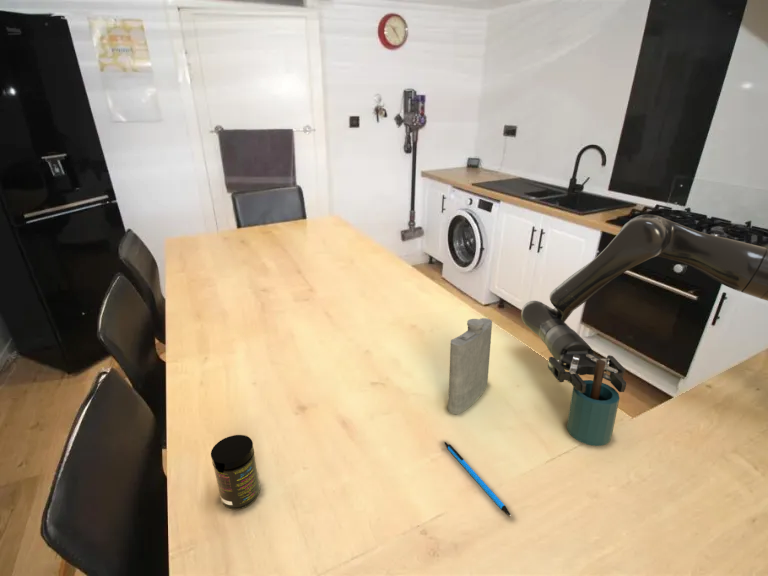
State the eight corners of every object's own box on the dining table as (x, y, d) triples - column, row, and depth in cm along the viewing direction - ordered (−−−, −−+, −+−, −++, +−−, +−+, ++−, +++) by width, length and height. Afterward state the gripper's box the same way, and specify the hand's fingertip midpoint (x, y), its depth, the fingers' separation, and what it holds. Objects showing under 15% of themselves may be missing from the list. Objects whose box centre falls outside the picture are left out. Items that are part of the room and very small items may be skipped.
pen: (447, 443, 83) (447, 439, 83) (512, 516, 67) (513, 511, 67) (443, 445, 83) (443, 440, 82) (508, 518, 67) (508, 513, 66)
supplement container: (268, 485, 74) (260, 438, 71) (245, 516, 68) (236, 467, 65) (237, 476, 76) (228, 431, 73) (212, 506, 70) (201, 458, 67)
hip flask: (477, 379, 104) (482, 307, 97) (492, 384, 102) (498, 311, 95) (445, 410, 93) (448, 331, 86) (461, 417, 90) (465, 337, 83)
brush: (593, 422, 87) (605, 356, 81) (601, 434, 83) (615, 366, 78) (576, 423, 87) (587, 357, 81) (584, 435, 83) (596, 366, 78)
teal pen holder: (598, 418, 89) (605, 379, 85) (618, 445, 81) (628, 403, 78) (560, 419, 89) (566, 380, 85) (577, 446, 81) (584, 404, 78)
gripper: (537, 333, 93) (568, 373, 77) (600, 331, 93) (644, 371, 77) (534, 362, 96) (563, 406, 80) (595, 360, 95) (637, 404, 80)
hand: (603, 388), depth 79 cm, fingers open, 7 cm apart
